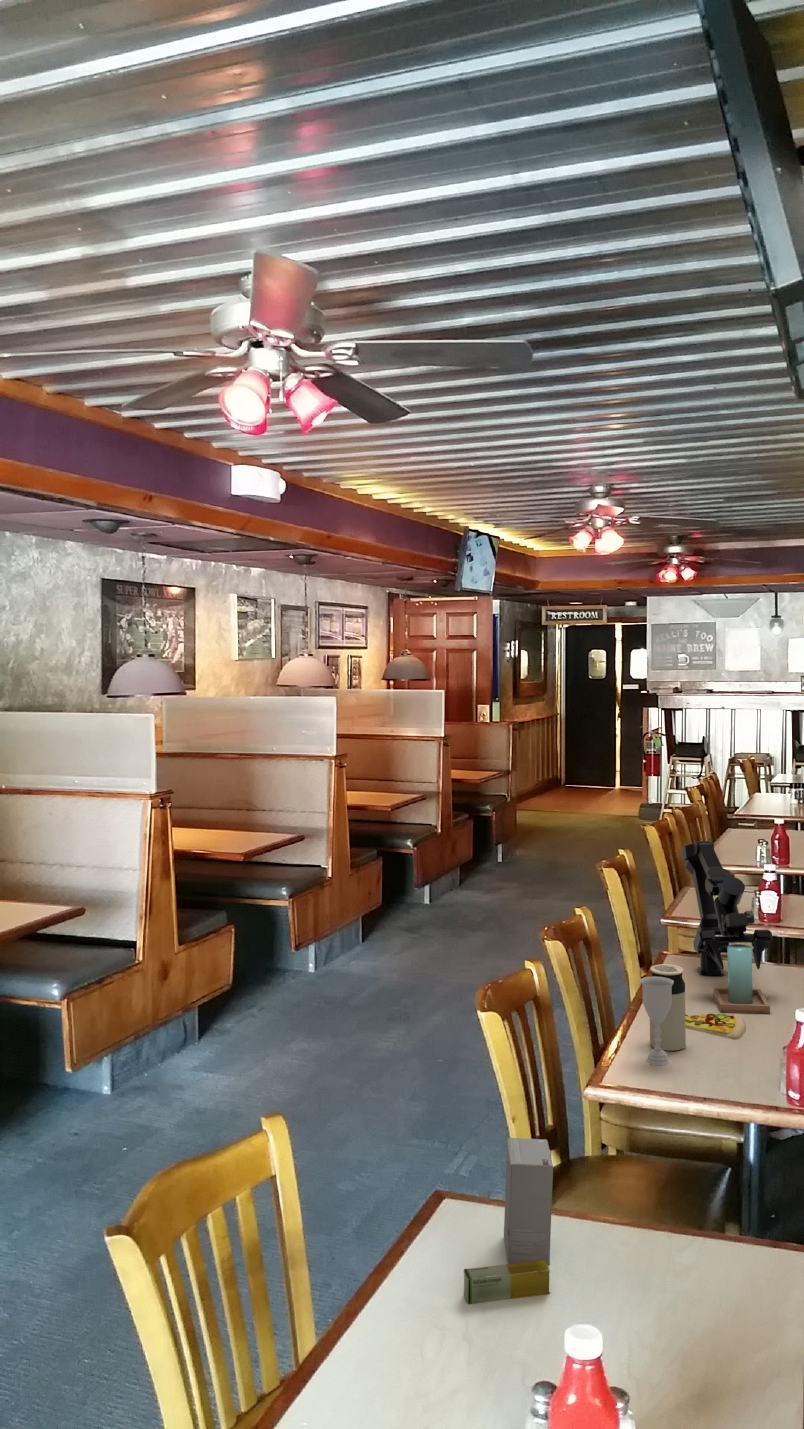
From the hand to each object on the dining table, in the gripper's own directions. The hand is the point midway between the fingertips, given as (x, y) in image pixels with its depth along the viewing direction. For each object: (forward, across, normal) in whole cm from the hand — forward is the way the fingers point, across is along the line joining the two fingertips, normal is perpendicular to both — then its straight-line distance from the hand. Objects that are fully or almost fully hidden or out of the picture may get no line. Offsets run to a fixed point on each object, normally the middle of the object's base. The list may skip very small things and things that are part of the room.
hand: (740, 968), depth 270 cm
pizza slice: (+18, -14, -3) cm, 23 cm away
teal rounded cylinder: (+6, 0, +6) cm, 9 cm away
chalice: (+34, -30, -20) cm, 49 cm away
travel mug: (+27, -25, -14) cm, 39 cm away
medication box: (+94, -70, -82) cm, 143 cm away
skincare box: (+87, -65, -74) cm, 132 cm away
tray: (+6, 0, +7) cm, 9 cm away
